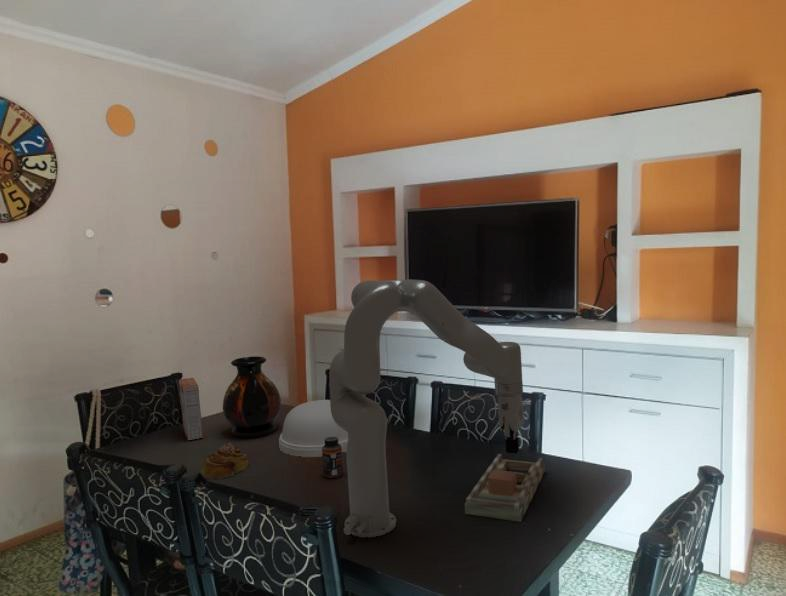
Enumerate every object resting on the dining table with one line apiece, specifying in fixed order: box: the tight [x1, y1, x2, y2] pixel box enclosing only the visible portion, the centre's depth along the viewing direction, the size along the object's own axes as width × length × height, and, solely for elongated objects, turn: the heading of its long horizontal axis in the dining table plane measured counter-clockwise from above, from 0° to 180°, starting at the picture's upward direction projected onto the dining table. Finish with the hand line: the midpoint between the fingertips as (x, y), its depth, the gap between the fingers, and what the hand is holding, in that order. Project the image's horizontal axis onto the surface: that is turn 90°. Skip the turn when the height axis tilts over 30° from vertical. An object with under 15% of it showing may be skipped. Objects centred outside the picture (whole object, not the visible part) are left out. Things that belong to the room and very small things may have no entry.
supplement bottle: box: [321, 437, 344, 479], centre depth 176 cm, size 6×6×11 cm
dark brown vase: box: [222, 355, 282, 439], centre depth 222 cm, size 22×22×28 cm
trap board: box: [464, 453, 546, 523], centre depth 159 cm, size 32×14×4 cm, turn 156°
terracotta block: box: [488, 470, 518, 496], centre depth 154 cm, size 6×6×4 cm
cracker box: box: [178, 377, 204, 441], centre depth 222 cm, size 14×6×21 cm, turn 25°
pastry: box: [199, 442, 250, 479], centre depth 186 cm, size 13×15×8 cm
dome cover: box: [278, 399, 348, 458], centre depth 207 cm, size 32×30×14 cm
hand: (512, 451), depth 163 cm, fingers closed
